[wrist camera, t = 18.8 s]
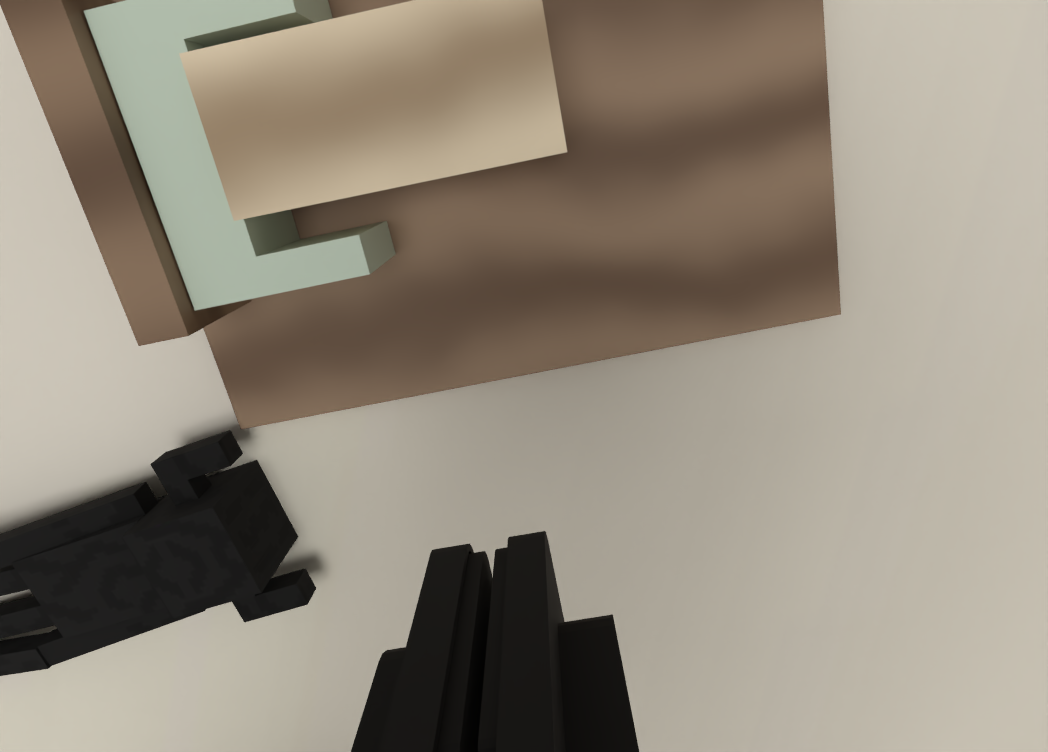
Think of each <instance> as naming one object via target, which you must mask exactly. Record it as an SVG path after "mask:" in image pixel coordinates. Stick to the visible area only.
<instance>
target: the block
mask: <svg viewBox="0 0 1048 752" xmlns="http://www.w3.org/2000/svg"><path fill="white" fill-rule="evenodd" d="M84 14H85V16H86V19H87V22H88V24H89V27H90V30H91V32H92V35H93V38H94V40H95V43H96V46H97V49H98V51H99V54H100V57H101V59H102V62H103V65H104V67H105V70H106V73H107V75H108V78H109V81H110V84H111V86H112V89H113V92H114V94H115V97H116V100H117V102H118V105H119V108H120V110H121V113H122V116H123V119H124V121H125V124H126V127H127V129H128V132H129V135H130V137H131V140H132V143H133V145H134V148H135V151H136V153H137V156H138V159H139V162H140V164H141V167H142V170H143V172H144V175H145V178H146V180H147V183H148V186H149V188H150V191H151V194H152V197H153V199H154V202H155V205H156V207H157V210H158V213H159V215H160V218H161V221H162V223H163V226H164V229H165V232H166V234H167V237H168V240H169V242H170V245H171V248H172V250H173V253H174V256H175V258H176V261H177V264H178V267H179V269H180V272H181V275H182V277H183V280H184V283H185V285H186V288H187V291H188V293H189V296H190V299H191V302H192V304H193V307H194V310H195V311H196V310H200V309H205V308H210V307H215V306H220V305H225V304H229V303H234V302H239V301H244V300H249V299H253V298H258V297H263V296H268V295H273V294H278V293H282V292H287V291H292V290H297V289H302V288H306V287H311V286H316V285H321V284H326V283H331V282H335V281H340V280H345V279H350V278H355V277H359V276H364V275H369V274H371V273H372V272H374V271H375V270H376V269H377V268H379V267H380V266H381V265H383V264H384V263H385V262H386V261H388V260H389V259H390V258H392V257H393V256H394V255H395V250H394V246H393V242H392V239H391V235H390V231H389V227H388V224H387V221H383V222H378V223H374V224H369V225H364V226H360V227H355V228H350V229H346V230H341V231H336V232H332V233H327V234H322V235H318V236H313V237H308V238H303V239H300V238H299V234H298V231H297V228H296V225H295V221H294V218H293V215H292V212H291V209H290V210H285V211H280V212H275V213H271V214H266V215H261V216H256V217H251V218H246V219H242V220H237V221H234V220H233V217H232V214H231V211H230V207H229V204H228V201H227V198H226V195H225V192H224V189H223V186H222V183H221V180H220V177H219V174H218V171H217V168H216V165H215V162H214V159H213V156H212V153H211V150H210V147H209V143H208V140H207V137H206V134H205V131H204V128H203V125H202V122H201V119H200V116H199V113H198V110H197V107H196V104H195V101H194V98H193V95H192V92H191V89H190V86H189V83H188V80H187V76H186V73H185V70H184V67H183V64H182V61H181V58H180V55H179V53H184V52H188V51H193V50H197V49H201V48H206V47H210V46H215V45H219V44H223V43H228V42H232V41H237V40H241V39H245V38H250V37H254V36H259V35H263V34H267V33H272V32H276V31H281V30H285V29H289V28H294V27H298V26H302V25H307V24H311V23H316V22H320V21H324V20H329V19H333V17H332V14H331V10H330V6H329V2H328V0H125V1H121V2H117V3H113V4H109V5H105V6H101V7H97V8H93V9H89V10H85V11H84Z"/></svg>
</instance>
